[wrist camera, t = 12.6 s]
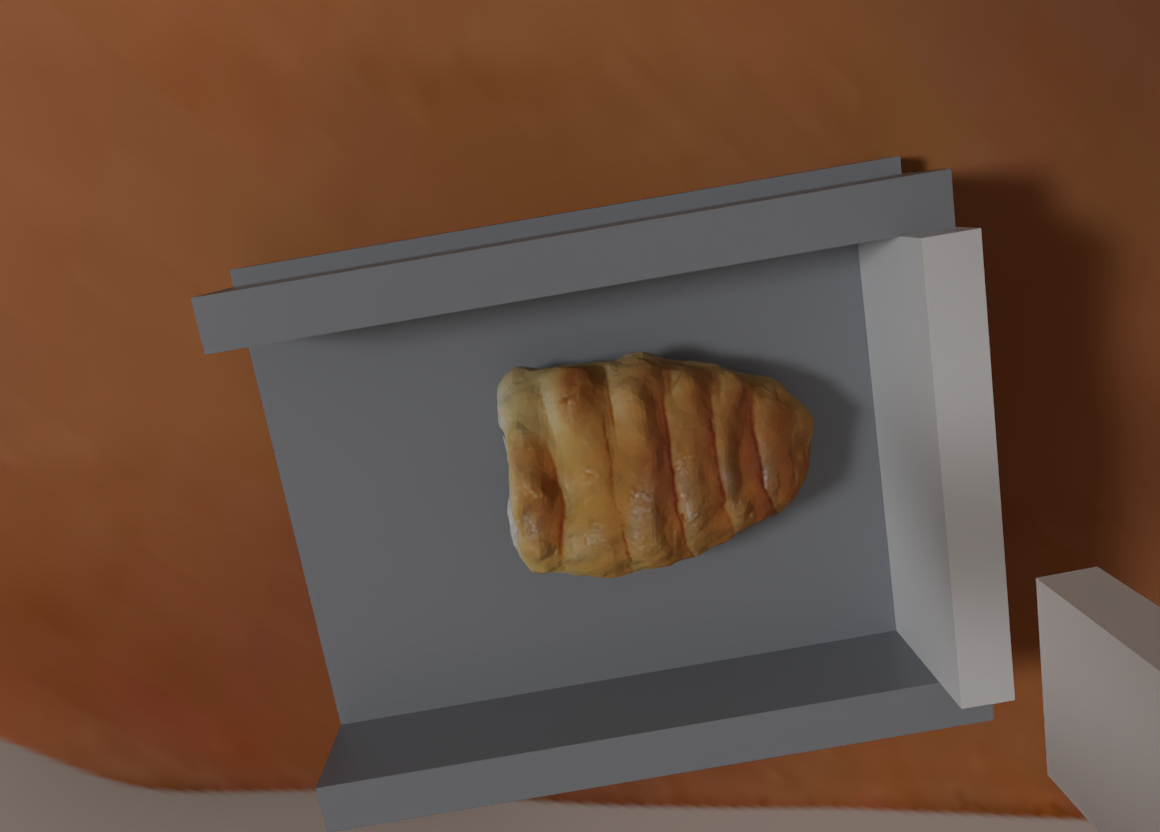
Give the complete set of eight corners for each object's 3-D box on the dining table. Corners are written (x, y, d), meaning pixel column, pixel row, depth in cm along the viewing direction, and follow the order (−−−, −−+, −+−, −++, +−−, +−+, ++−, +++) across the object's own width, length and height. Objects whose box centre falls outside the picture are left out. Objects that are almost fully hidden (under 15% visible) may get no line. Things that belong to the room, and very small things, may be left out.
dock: (360, 761, 33) (319, 882, 27) (240, 267, 29) (162, 283, 23) (934, 663, 33) (1019, 763, 27) (888, 157, 29) (974, 145, 23)
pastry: (791, 322, 29) (827, 340, 25) (809, 530, 30) (845, 576, 27) (485, 365, 29) (476, 390, 25) (518, 571, 30) (515, 623, 27)
